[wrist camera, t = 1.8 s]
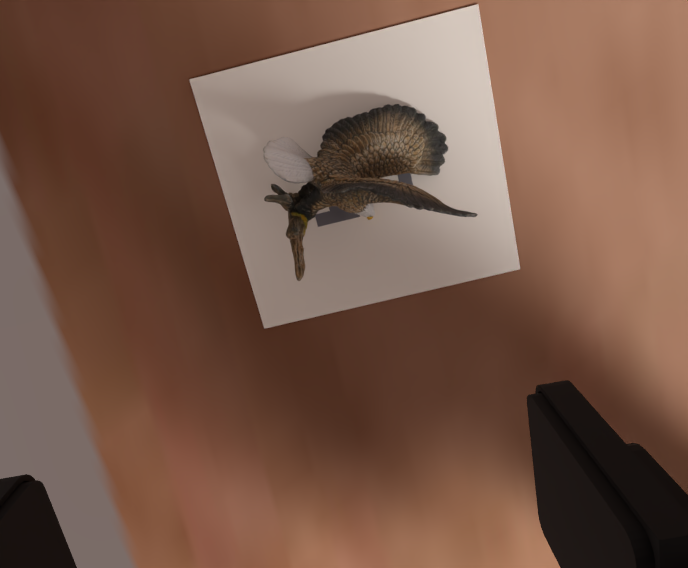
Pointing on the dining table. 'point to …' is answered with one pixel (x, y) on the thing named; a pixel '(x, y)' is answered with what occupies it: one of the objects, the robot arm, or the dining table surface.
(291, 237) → the eagle figurine
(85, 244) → the dining table surface
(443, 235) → the white square panel
